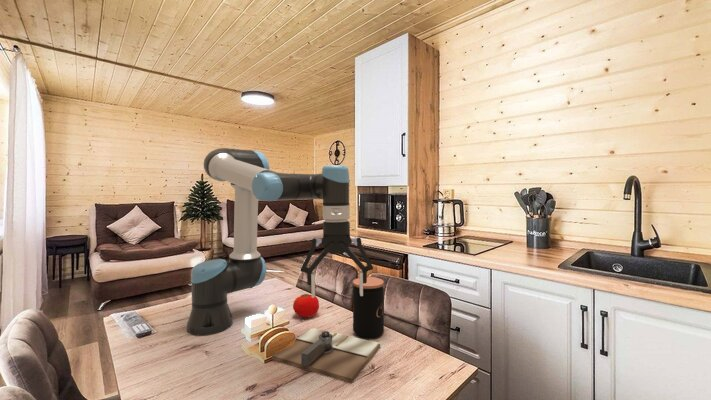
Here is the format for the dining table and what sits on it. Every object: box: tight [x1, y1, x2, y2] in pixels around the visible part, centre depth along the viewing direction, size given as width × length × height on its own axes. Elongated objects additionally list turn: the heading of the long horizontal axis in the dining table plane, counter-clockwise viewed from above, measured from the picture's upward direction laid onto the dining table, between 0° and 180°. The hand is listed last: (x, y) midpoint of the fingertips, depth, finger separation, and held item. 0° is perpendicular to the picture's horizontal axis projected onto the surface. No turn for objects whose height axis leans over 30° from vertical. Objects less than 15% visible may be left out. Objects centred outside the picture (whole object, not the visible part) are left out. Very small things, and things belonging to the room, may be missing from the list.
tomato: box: [292, 293, 320, 318], centre depth 125 cm, size 9×10×8 cm
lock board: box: [271, 327, 381, 384], centre depth 96 cm, size 26×20×2 cm
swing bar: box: [301, 330, 332, 366], centre depth 92 cm, size 13×4×4 cm, turn 154°
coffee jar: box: [352, 276, 385, 340], centre depth 110 cm, size 11×11×18 cm
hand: (337, 295), depth 90 cm, fingers open, 13 cm apart
